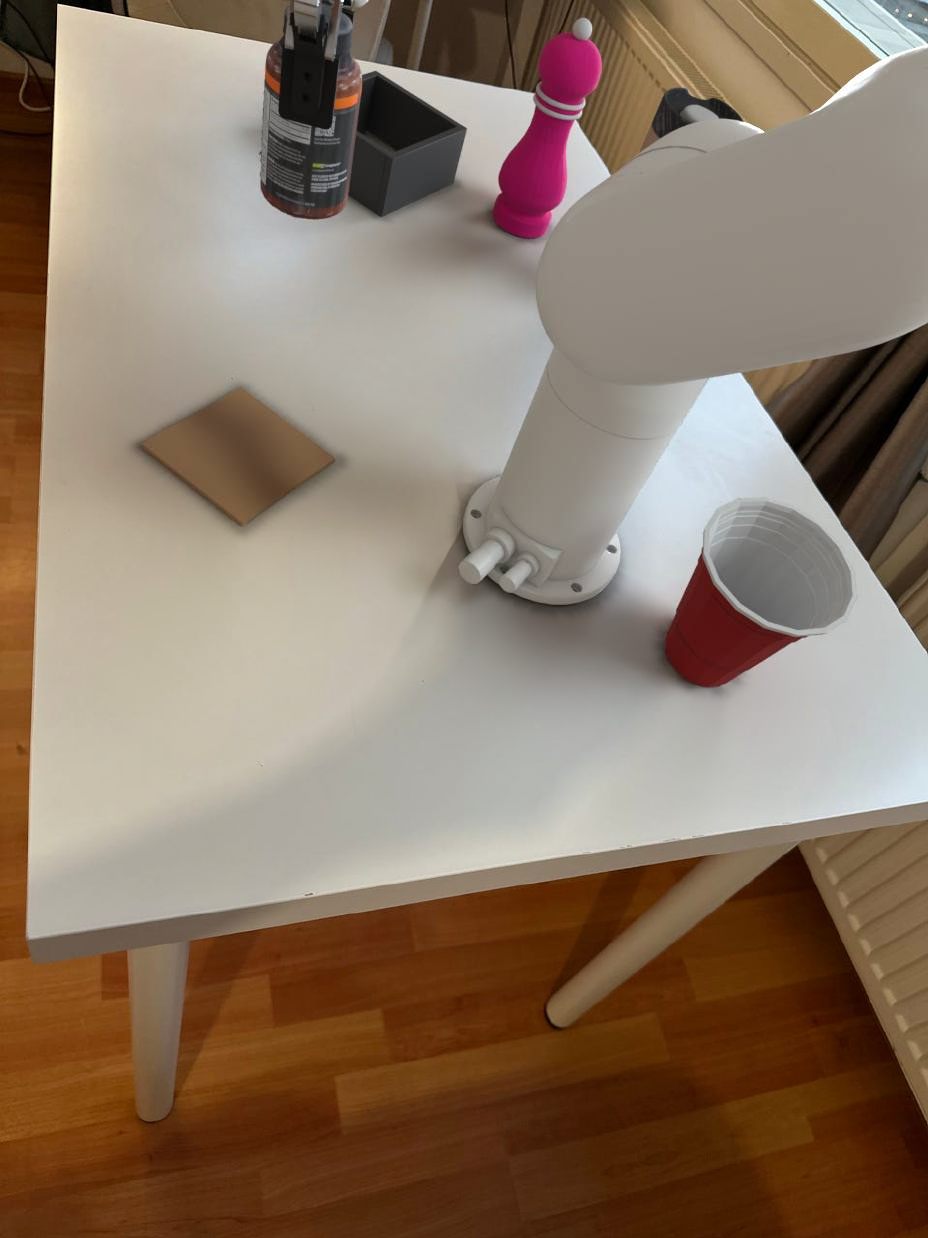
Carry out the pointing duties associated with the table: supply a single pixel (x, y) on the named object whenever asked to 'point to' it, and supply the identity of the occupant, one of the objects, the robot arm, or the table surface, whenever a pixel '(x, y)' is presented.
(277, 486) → the coaster
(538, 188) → the pepper mill
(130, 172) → the table surface
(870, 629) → the table surface
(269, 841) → the table surface
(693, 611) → the plastic cup
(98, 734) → the table surface
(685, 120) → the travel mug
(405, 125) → the bin
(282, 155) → the supplement bottle
